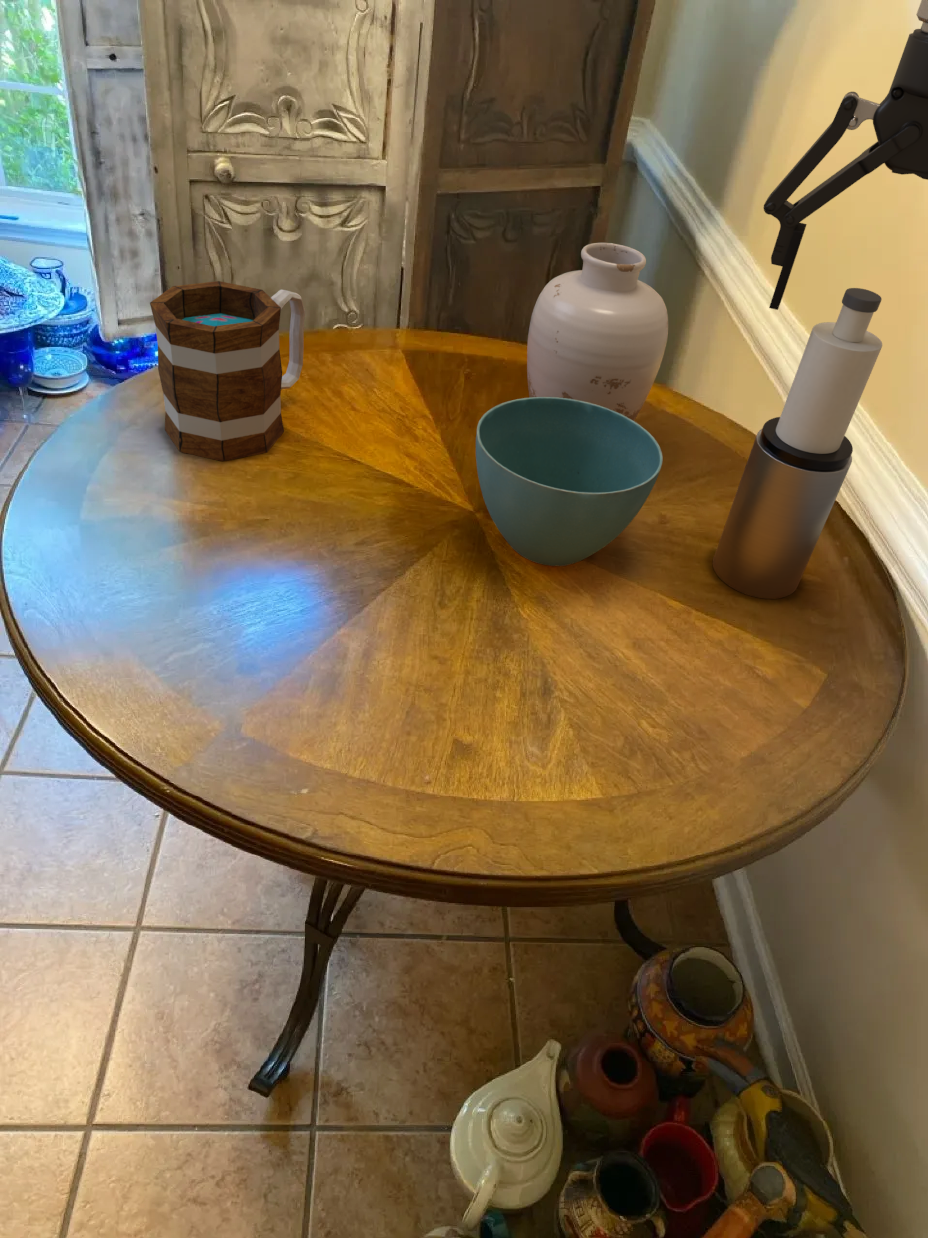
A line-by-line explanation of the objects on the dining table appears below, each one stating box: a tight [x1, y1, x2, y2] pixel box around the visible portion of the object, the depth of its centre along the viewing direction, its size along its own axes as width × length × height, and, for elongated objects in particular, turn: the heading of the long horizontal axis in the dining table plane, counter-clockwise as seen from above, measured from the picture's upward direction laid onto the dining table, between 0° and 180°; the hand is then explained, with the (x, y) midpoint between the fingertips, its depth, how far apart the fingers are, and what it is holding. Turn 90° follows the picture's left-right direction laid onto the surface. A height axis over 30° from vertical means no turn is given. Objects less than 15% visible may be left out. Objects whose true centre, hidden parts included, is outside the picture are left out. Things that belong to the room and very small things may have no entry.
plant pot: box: [475, 397, 664, 567], centre depth 93 cm, size 18×18×12 cm
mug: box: [149, 280, 306, 462], centre depth 104 cm, size 20×14×15 cm
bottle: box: [776, 287, 883, 454], centre depth 82 cm, size 6×6×14 cm
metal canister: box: [712, 416, 854, 600], centre depth 91 cm, size 9×9×16 cm
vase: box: [526, 242, 669, 421], centre depth 107 cm, size 16×16×23 cm
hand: (854, 323), depth 79 cm, fingers open, 13 cm apart
